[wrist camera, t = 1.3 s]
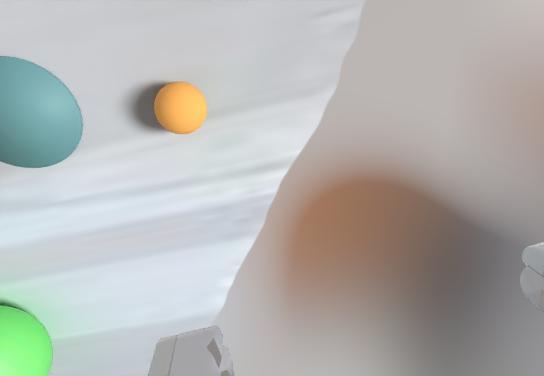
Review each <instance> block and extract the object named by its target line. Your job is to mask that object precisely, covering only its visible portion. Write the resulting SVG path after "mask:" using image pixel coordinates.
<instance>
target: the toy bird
mask: <svg viewBox="0 0 544 376" xmlns="http://www.w3.org/2000/svg"><path fill="white" fill-rule="evenodd" d="M52 357H53V349H52V342H51V339H50V336H49V334H48V332H47V330H46V329H45V327H44V326H43V325H42V324H41V323H40V322H39V321H38V320H37V319H36V318H35V317H33V316H32V315H30V314H29V313H27V312H25V311H22V310H20V309H17V308H13V307H8V306H1V305H0V376H48V373H49V371H50V367H51V363H52Z"/></svg>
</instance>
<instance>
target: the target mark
mask: <svg viewBox="0 0 544 376" xmlns="http://www.w3.org/2000/svg"><path fill="white" fill-rule="evenodd" d="M82 127H83V124H82V116H81V112H80V109H79V106H78V104H77V102H76V100H75V98H74V97H73V95H72V94H71V92H70V91H69V90H68V88H67V87H66V86H65V85H64V84H63V83H62V82H61V81H60V80H59V79H58V78H57V77H55V76H54V75H53V74H52V73H50V72H49V71H47V70H45V69H44V68H42V67H40V66H38V65H36V64H34V63H32V62H29V61H26V60H23V59H19V58H15V57H7V56H0V161H2V162H5V163H7V164H11V165H14V166H19V167H26V168H40V167H47V166H50V165H54V164H56V163H59V162H61V161H62V160H64V159H66V158H67V157H68V156H69V155H70V154H71V153H72V152H73V151H74V150H75V149H76V147H77V145H78V144H79V141H80V139H81V135H82Z"/></svg>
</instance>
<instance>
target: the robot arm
mask: <svg viewBox="0 0 544 376" xmlns="http://www.w3.org/2000/svg"><path fill="white" fill-rule="evenodd" d="M522 260H523V262H524V263H525V264H526V265H527V266H526V268H525V269H524V270H523V271H522V273H521V278H520V285H521V287H522V290H523V292H524V295H525V296H526V297H527V298H528V300H529V301H530V302H531V303H532V304H533V305H534V306H535V307H536V308H537V309H539V310H541V311H544V242H543V243H540V244H536V245H532V246H528V247H526V248H525V250H524V251H523V255H522ZM222 342H223V335H222V333H221V330H220V328H219V327H218V326H212V327H208V328H203V329H199V330H194V331H190V332H186V333H181V334H179V335H175V336H170V337H165V338H161V339H160V340H159V341H158V343H157V344H156V348H155V351H154V355H153V359H152V362H151V366H150V370H149V373H148V376H234V371H233V363H232V359H231V355H230V353H229V350H228V348H227V347H225V346H224V345H222Z"/></svg>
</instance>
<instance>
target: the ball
mask: <svg viewBox="0 0 544 376" xmlns="http://www.w3.org/2000/svg"><path fill="white" fill-rule="evenodd" d="M154 111H155V115H156V117H157V119H158V121H159V123H160V124H161V125H162V126H163V127H164V128H165V129H167V130H168V131H170V132H173V133H176V134H188V133H191V132H194V131H195V130H197V129H198V128H199V127H200V126H201V125H202V124H203V122H204V120H205V118H206V114H207V105H206V101H205V99H204V97H203V95H202V93H201V92H200V91H199V90H198V89H197V88H196V87H194V86H193V85H191V84H188V83H185V82H173V83H169V84H167V85H166V86H164V87H163V88H162V89H161V90H160V91H159V92H158V94H157V95H156V98H155V102H154Z"/></svg>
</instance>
